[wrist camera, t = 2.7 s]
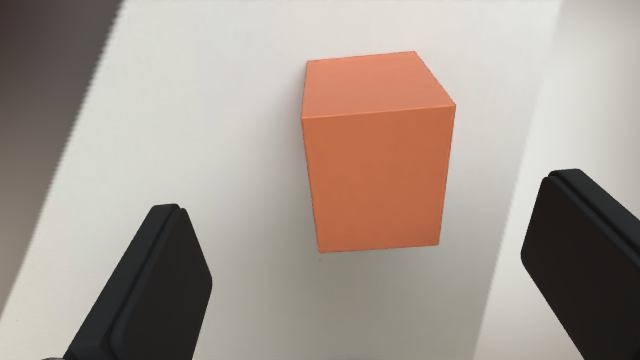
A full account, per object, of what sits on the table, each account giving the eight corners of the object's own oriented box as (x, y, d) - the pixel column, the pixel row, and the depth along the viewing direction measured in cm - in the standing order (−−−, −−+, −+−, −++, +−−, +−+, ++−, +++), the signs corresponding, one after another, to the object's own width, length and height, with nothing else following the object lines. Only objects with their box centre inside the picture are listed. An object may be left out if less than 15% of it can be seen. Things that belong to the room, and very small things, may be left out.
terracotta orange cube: (306, 60, 14) (300, 117, 9) (415, 50, 13) (456, 104, 9) (319, 172, 16) (318, 253, 12) (409, 165, 16) (438, 246, 12)
